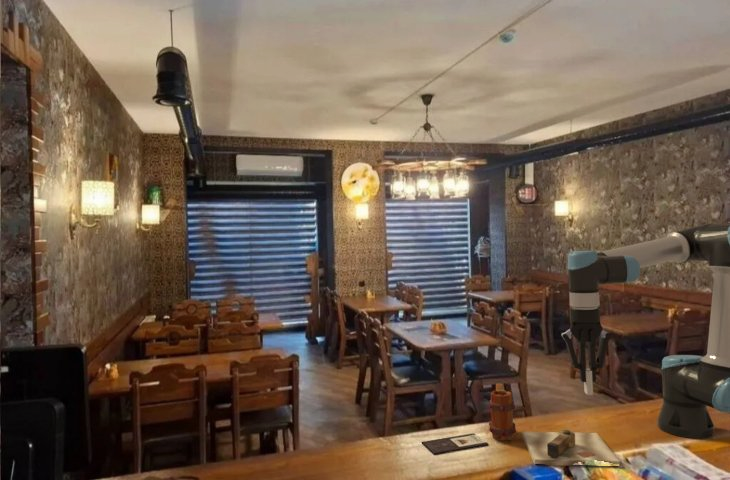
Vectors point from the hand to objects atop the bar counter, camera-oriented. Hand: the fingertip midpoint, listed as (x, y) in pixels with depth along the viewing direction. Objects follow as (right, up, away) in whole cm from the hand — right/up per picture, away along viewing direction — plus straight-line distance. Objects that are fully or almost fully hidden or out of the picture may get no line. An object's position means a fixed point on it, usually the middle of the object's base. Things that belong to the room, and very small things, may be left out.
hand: (588, 393), depth 139 cm
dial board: (-2, -19, +8) cm, 21 cm away
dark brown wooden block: (-5, -17, +5) cm, 19 cm away
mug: (-18, -20, +22) cm, 34 cm away
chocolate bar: (-34, -21, +16) cm, 43 cm away
